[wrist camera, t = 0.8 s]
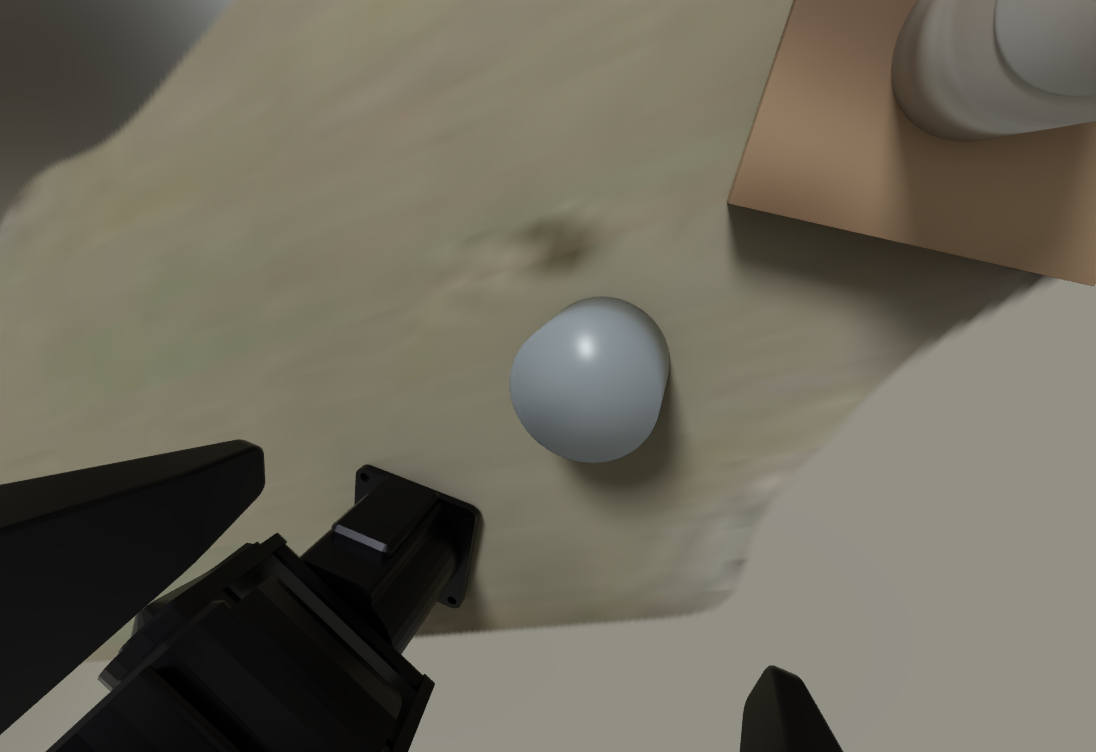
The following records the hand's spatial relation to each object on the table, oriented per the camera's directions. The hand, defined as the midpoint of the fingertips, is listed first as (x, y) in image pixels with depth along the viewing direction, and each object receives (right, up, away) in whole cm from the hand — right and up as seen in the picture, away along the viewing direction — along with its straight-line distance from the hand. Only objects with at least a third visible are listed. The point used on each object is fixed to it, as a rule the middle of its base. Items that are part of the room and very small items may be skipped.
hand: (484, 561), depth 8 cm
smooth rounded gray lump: (+3, +4, +11) cm, 12 cm away
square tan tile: (+12, +11, +5) cm, 17 cm away
